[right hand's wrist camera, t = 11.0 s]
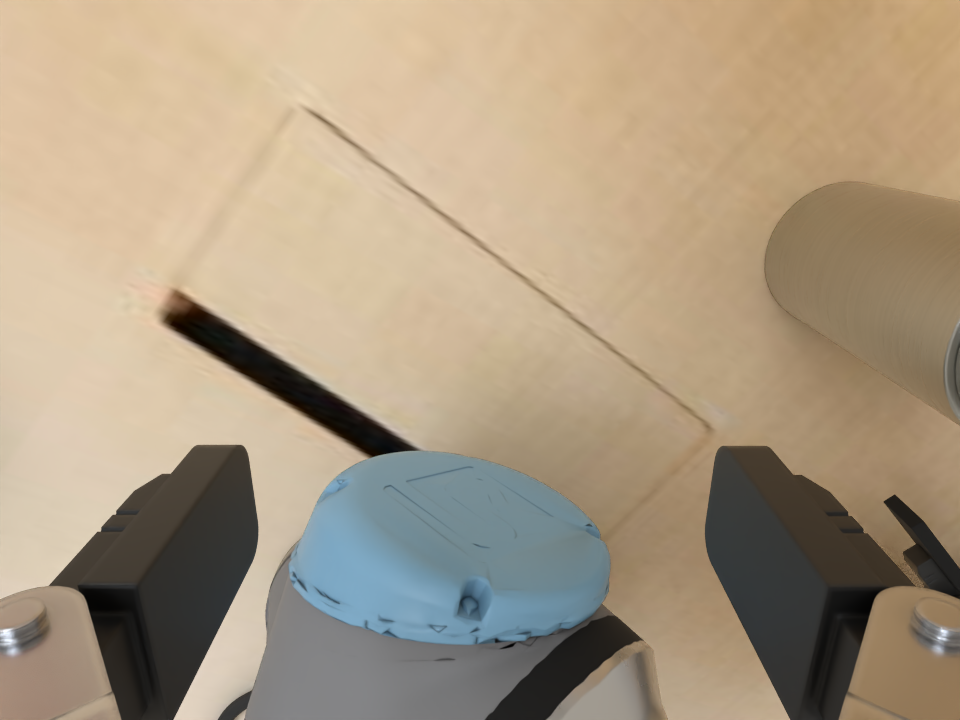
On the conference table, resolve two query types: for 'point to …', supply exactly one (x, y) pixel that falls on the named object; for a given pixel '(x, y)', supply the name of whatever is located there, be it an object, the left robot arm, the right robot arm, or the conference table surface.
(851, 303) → the bottle
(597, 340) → the conference table surface
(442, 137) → the conference table surface
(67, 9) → the conference table surface
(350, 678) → the left robot arm
